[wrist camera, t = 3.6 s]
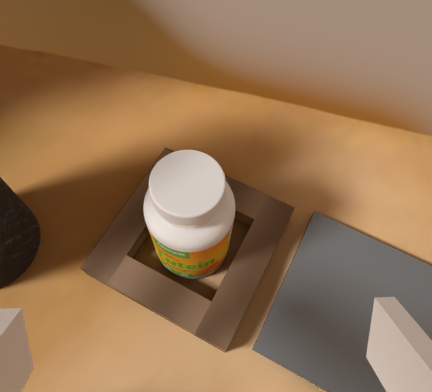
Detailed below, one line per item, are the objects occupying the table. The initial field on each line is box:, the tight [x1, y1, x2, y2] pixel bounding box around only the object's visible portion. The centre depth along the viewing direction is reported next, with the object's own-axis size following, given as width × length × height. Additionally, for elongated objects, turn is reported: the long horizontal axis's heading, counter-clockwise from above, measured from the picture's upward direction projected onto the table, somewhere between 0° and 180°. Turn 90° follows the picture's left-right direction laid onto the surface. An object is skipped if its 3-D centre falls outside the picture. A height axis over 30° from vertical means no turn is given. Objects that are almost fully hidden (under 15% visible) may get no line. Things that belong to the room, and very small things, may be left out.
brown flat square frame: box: [81, 148, 294, 352], centre depth 27 cm, size 11×11×2 cm
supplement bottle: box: [143, 150, 235, 279], centre depth 24 cm, size 5×5×10 cm
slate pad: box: [252, 212, 432, 392], centre depth 26 cm, size 11×11×1 cm
